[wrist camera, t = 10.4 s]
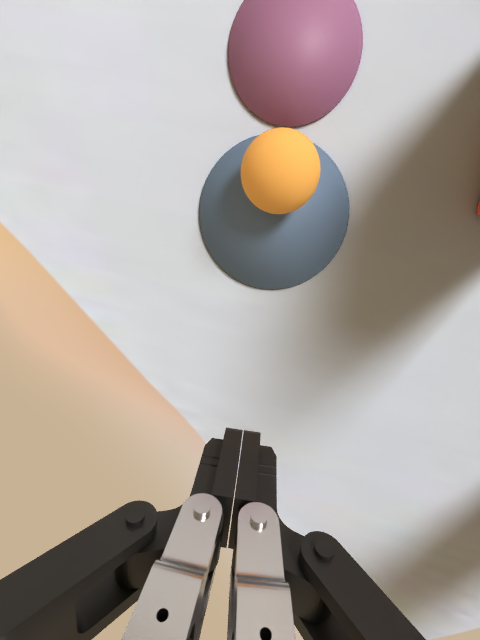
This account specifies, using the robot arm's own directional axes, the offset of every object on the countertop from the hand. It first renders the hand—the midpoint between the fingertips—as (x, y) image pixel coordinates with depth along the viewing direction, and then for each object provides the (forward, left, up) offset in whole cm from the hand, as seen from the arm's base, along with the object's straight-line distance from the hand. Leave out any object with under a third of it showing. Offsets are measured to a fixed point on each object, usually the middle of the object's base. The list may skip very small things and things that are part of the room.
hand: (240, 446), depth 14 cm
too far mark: (0, -21, -19) cm, 28 cm away
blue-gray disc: (0, -9, -19) cm, 21 cm away
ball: (0, -12, -16) cm, 20 cm away
